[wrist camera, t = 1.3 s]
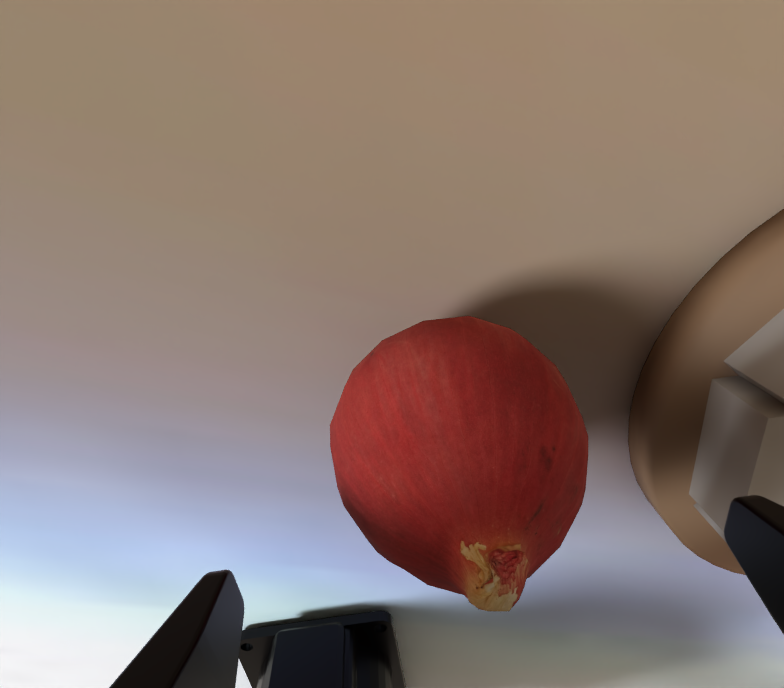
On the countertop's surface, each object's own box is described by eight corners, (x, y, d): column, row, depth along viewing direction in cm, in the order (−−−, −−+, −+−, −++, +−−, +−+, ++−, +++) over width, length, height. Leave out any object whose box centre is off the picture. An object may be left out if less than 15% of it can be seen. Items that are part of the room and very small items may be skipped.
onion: (547, 400, 15) (724, 652, 8) (392, 468, 16) (417, 755, 8) (482, 244, 12) (648, 390, 5) (304, 333, 13) (233, 568, 6)
